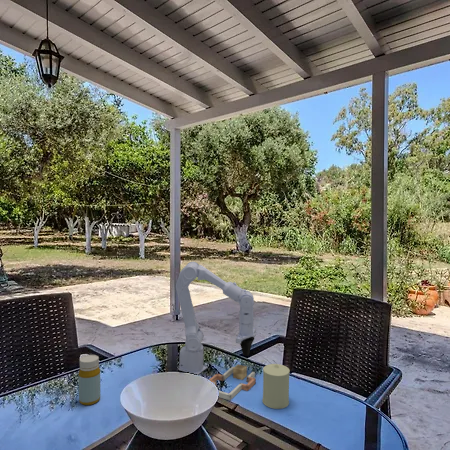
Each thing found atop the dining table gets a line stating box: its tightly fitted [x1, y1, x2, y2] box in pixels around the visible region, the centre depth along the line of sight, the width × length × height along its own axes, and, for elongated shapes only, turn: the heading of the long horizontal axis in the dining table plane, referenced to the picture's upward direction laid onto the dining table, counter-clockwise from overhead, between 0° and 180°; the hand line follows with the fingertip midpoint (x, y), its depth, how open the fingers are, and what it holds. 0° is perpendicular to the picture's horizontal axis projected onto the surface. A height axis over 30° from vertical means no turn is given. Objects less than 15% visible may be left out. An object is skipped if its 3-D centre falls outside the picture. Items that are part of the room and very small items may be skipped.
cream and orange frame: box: [208, 366, 257, 401], centre depth 141 cm, size 15×20×2 cm
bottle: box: [78, 354, 101, 406], centre depth 128 cm, size 7×7×15 cm
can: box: [262, 363, 291, 410], centre depth 129 cm, size 9×9×12 cm
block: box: [232, 363, 248, 381], centre depth 147 cm, size 4×4×4 cm
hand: (245, 355), depth 151 cm, fingers closed
